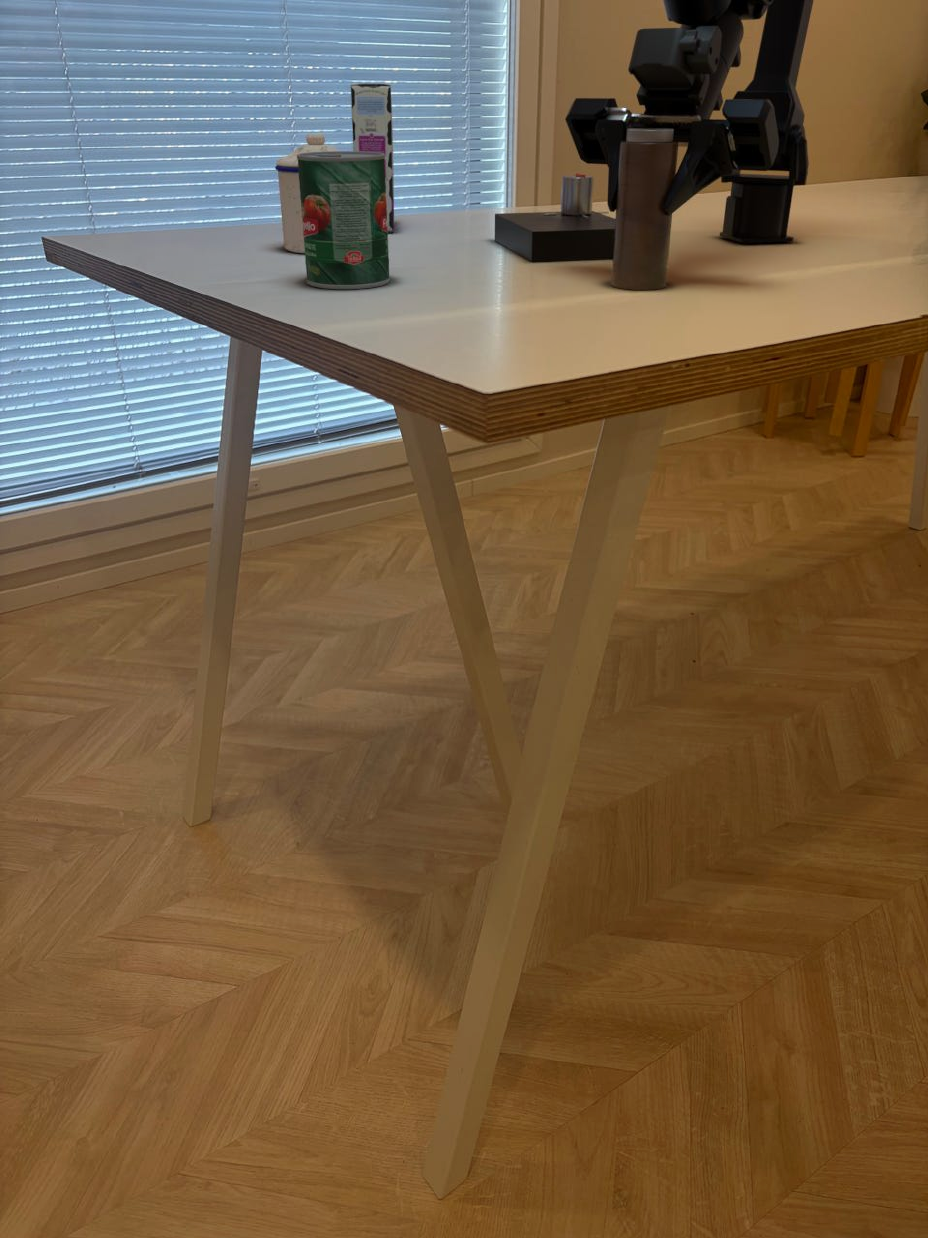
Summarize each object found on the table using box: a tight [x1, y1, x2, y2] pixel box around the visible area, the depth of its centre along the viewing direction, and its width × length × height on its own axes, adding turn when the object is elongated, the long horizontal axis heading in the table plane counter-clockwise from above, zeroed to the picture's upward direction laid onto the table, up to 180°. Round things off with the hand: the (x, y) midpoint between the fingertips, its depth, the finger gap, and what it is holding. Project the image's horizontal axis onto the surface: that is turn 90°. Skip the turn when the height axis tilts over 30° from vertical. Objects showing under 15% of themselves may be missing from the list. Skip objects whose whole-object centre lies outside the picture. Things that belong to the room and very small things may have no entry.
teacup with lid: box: [274, 133, 340, 254], centre depth 111 cm, size 12×9×12 cm
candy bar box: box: [349, 83, 395, 233], centre depth 124 cm, size 11×5×16 cm, turn 5°
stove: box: [494, 210, 615, 263], centre depth 111 cm, size 13×17×3 cm
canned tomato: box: [297, 150, 391, 290], centre depth 91 cm, size 8×8×11 cm
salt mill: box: [610, 128, 679, 291], centre depth 89 cm, size 5×5×13 cm
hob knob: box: [560, 172, 595, 216], centre depth 114 cm, size 4×4×4 cm
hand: (637, 210), depth 88 cm, fingers closed on salt mill, 5 cm apart
